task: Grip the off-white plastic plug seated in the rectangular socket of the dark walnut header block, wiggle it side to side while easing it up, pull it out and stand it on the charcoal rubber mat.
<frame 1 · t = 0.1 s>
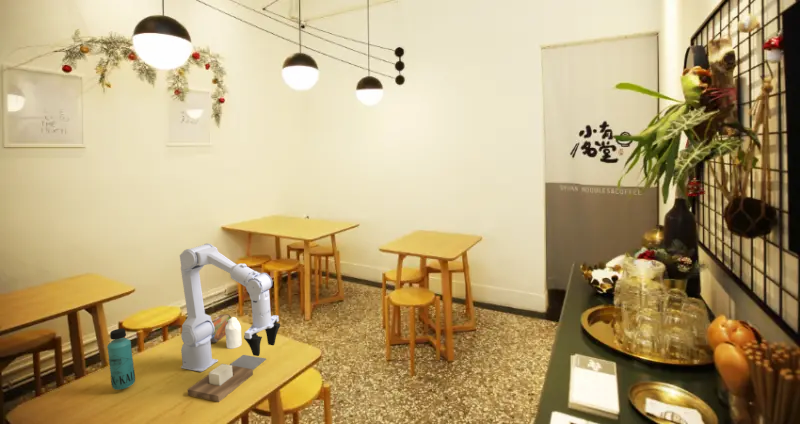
hand: (264, 349, 137), 10 cm above the table, tool pointing down, fingers open, 7 cm apart
tin: (219, 338, 169), on the table
beverage bottle: (124, 389, 133), on the table
header block: (221, 384, 134), on the table
mat: (247, 362, 148), on the table
plug: (221, 384, 135), resting in header block
roll: (234, 345, 162), on the table
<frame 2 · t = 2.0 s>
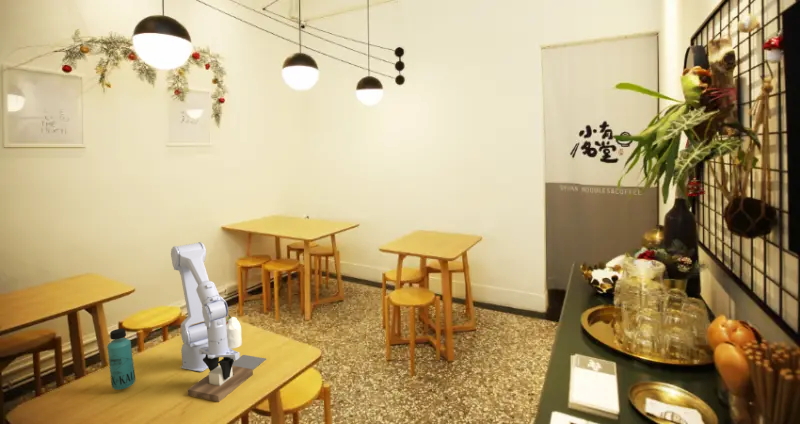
hand: (221, 376, 134), 3 cm above the table, tool pointing down, fingers closed on plug, 4 cm apart
plug: (221, 384, 134), resting in header block, touching gripper
everything else where it was.
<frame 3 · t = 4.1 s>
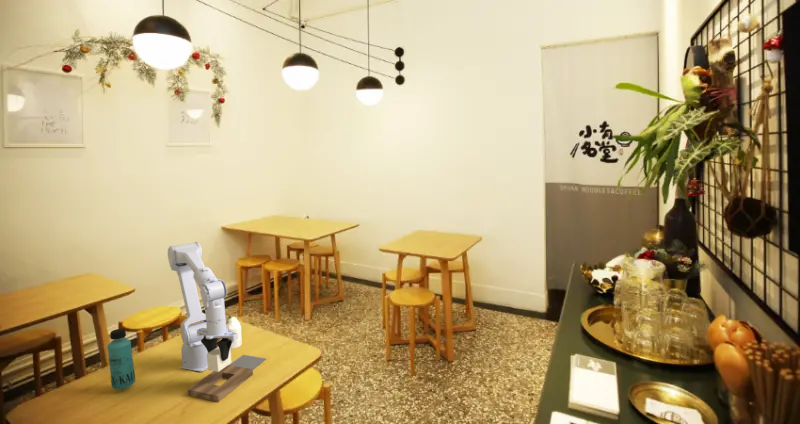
hand: (219, 358, 133), 9 cm above the table, tool pointing down, fingers closed on plug, 4 cm apart
plug: (220, 366, 134), point 6 cm above the table, touching gripper
everything else where it was.
when the fingers open (5 cm above the table, at t = 6.6 s): plug drops 1 cm, resting on mat.
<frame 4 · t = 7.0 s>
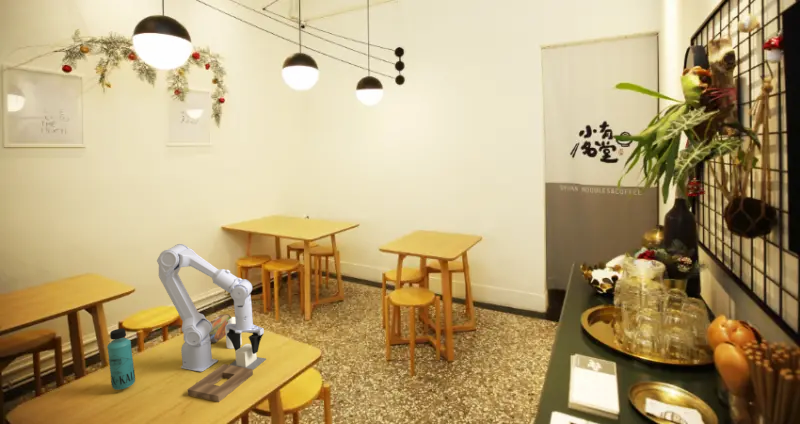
hand: (246, 350, 147), 5 cm above the table, tool pointing down, fingers open, 7 cm apart
plug: (246, 362, 148), resting on mat
everything else where it was.
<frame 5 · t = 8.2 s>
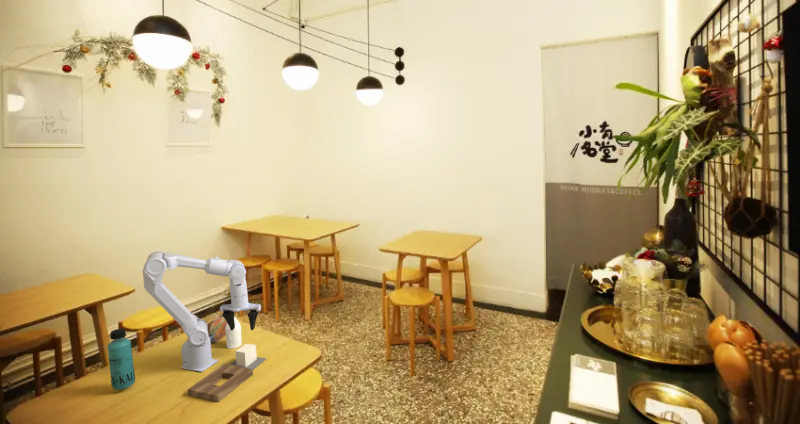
hand: (242, 329, 152), 10 cm above the table, tool pointing down, fingers open, 7 cm apart
nothing on the table moved.
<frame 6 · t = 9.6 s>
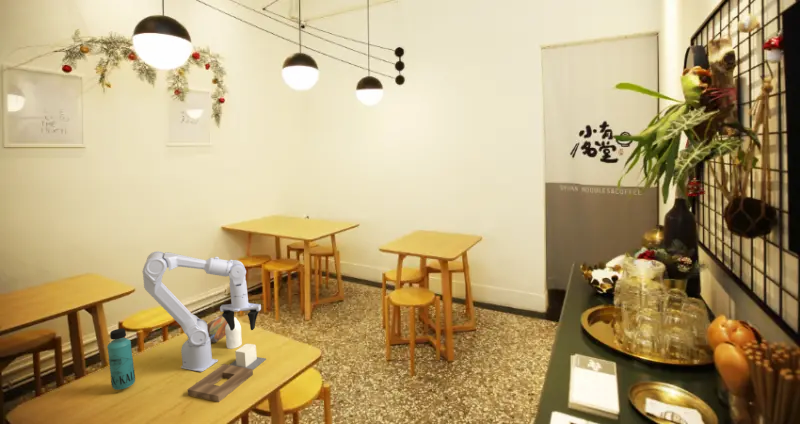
hand: (242, 329, 152), 10 cm above the table, tool pointing down, fingers open, 7 cm apart
nothing on the table moved.
at the end: plug inside the target area on the mat (0.3 cm from its centre), point 0.4 cm above the mat's base; plug tilted 0°; the gripper is holding nothing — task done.
